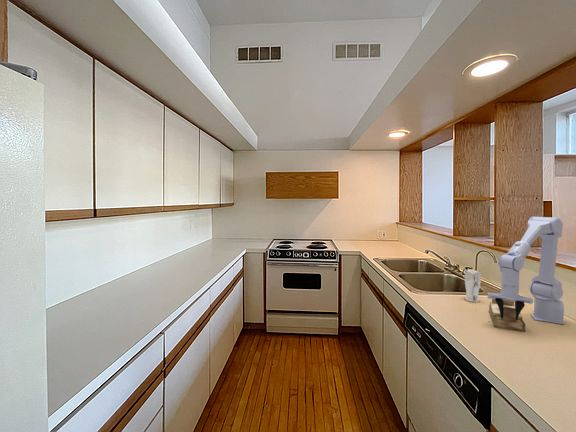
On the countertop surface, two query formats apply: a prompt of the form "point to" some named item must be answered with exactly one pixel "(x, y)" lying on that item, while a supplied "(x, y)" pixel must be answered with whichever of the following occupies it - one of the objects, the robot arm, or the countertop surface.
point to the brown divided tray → (507, 322)
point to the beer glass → (472, 285)
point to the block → (509, 314)
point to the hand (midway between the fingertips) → (508, 318)
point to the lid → (506, 304)
